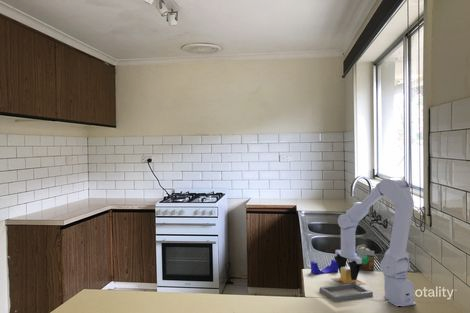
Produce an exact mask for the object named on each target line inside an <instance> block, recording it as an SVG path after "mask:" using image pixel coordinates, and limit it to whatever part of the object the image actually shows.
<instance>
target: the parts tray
mask: <svg viewBox="0 0 470 313" xmlns="http://www.w3.org/2000/svg"><path fill="white" fill-rule="evenodd" d="M351 289H356V290H357V291H359V292H354V293H348V294H341V295H335V294H334V293H332V292H335V291H343V290H351ZM319 293H321V294H323V295H324V296H325V297H327V298H329V299H331V301H333V302H335V303H336V302H343V301H350V300H357V299H363V298H370V297H373V296H374V291H373V290H372V291H371V289H370V290H369V289H368V288H366V287H364V286H363V285H358V284H356V283H350V284H343V285H341V284H336V285H329V286H321V287H319Z"/></svg>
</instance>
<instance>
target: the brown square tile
mask: <svg viewBox="0 0 470 313" xmlns="http://www.w3.org/2000/svg"><path fill="white" fill-rule="evenodd" d="M331 280H332V281H334V282H335V283H337V284H338V285H343V284H350V283H344V282H342V281H341V280H340V277H334V278H331ZM353 283H356V284H358V285H360V286H363V285H366V282H363V281H361V280H359V279H357V280H356V282H353Z"/></svg>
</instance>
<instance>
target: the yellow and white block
mask: <svg viewBox="0 0 470 313" xmlns="http://www.w3.org/2000/svg"><path fill="white" fill-rule="evenodd" d="M339 274H340V277H339V278H340V280H341V281H342V282H344V283H353V282H356V280H352V279H351V271H350V267H349V265H348V266H346V267H341V268H340V272H339Z"/></svg>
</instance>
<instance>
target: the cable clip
mask: <svg viewBox="0 0 470 313" xmlns="http://www.w3.org/2000/svg"><path fill="white" fill-rule="evenodd" d="M310 273H311V274H312V275H314V276H316V274H318V275H324V274H334V273H339V268H338V265H337V262H336V260H335V258H333V259H331V263H330V264H329V265H327V266H325V267H324V268H322V269H320V268H319V265H318V262H316V261H314V260H313V261H310Z"/></svg>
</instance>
